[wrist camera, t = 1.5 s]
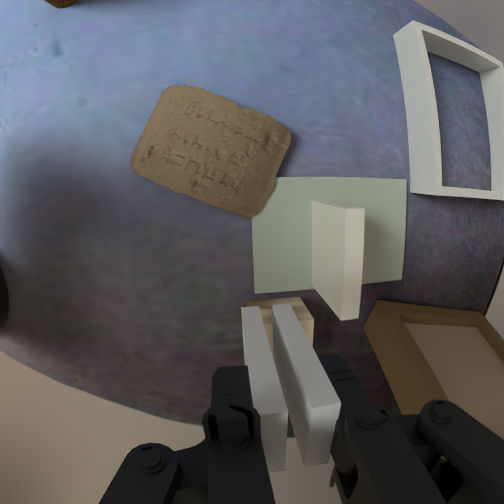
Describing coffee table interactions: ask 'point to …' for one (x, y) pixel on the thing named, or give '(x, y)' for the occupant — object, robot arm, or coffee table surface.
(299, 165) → the coffee table surface
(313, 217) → the tile
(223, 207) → the clay tablet
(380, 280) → the mat
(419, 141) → the white open rectangular frame
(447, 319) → the photo frame
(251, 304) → the block
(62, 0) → the disposable coffee cup
